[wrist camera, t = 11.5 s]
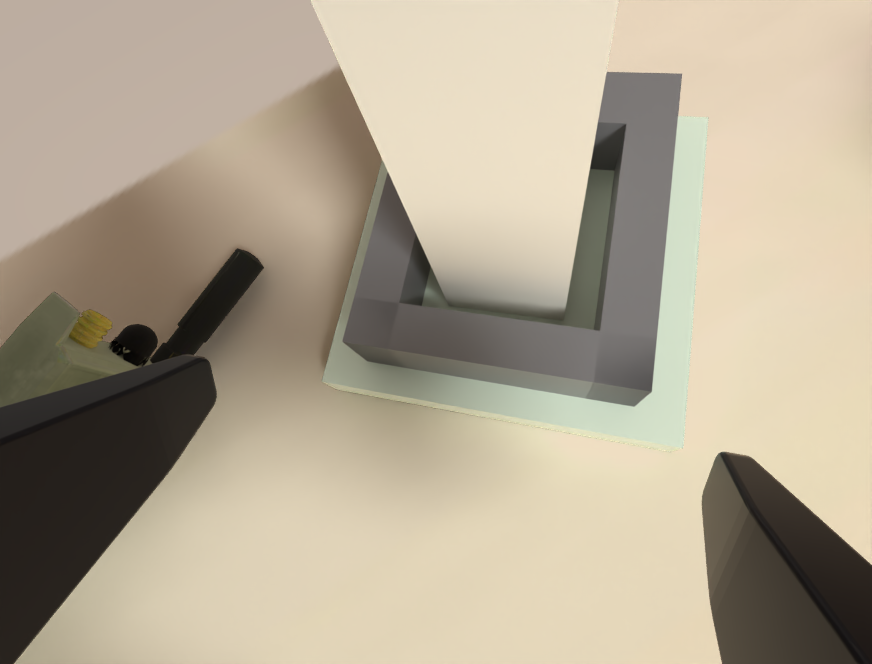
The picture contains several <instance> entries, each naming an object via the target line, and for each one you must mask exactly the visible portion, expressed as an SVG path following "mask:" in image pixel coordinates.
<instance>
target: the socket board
mask: <svg viewBox="0 0 872 664" xmlns="http://www.w3.org/2000/svg"><path fill="white" fill-rule="evenodd" d="M681 79H682V74H669V73H625V72H607V73H606V78H605V84H604V90H603V96H602V101H601V107H600V113H599V119H598V124H597V130H596V136H595V142H594V148H593V153H592V159H591V165H590V171H589V176H588V182H587V188H586V194H585V199H584V205H583V211H582V217H581V223H580V228H579V234H578V240H577V246H576V251H575V257H574V263H573V269H572V274H571V280H570V286H569V292H568V298H567V303H566V309H565V315H564V321H563V320H555V319H547V318H539V317H532V316H524V315H516V314H508V313H501V312H493V311H485V310H477V309H469V308H462V307H454V306H449V305H448V303H447V301H446V298H445V296H444V294H443V292H442V290H441V287H440V285H439V283H438V281H437V278H436V276H435V274H434V272H433V270H432V267H431V265H430V263H429V261H428V259H427V256H426V254H425V252H424V250H423V248H422V245H421V243H420V241H419V239H418V237H417V234H416V232H415V230H414V228H413V226H412V223H411V221H410V219H409V217H408V215H407V212H406V210H405V208H404V206H403V204H402V201H401V199H400V197H399V195H398V193H397V190H396V188H395V186H394V184H393V182H392V179H391V177H390V175H389V173H388V171H387V168H386V166H385V164H384V162H383V160H382V162H381V166H380V170H379V173H378V177H377V181H376V184H375V188H374V192H373V195H372V199H371V203H370V206H369V210H368V214H367V217H366V221H365V225H364V228H363V232H362V236H361V239H360V243H359V247H358V250H357V254H356V258H355V261H354V265H353V269H352V272H351V276H350V279H349V283H348V287H347V290H346V294H345V298H344V301H343V305H342V309H341V312H340V316H339V320H338V323H337V327H336V331H335V334H334V338H333V342H332V345H331V349H330V353H329V356H328V360H327V364H326V367H325V371H324V375H323V378H322V382H323V383H325V384H327V385H329V386H331V387H333V388H335V389H337V390H341V391H347V392H352V393H357V394H363V395H368V396H373V397H379V398H384V399H389V400H395V401H400V402H405V403H411V404H416V405H421V406H427V407H432V408H438V409H443V410H448V411H454V412H459V413H464V414H470V415H475V416H480V417H486V418H491V419H496V420H502V421H507V422H512V423H518V424H523V425H528V426H534V427H539V428H545V429H550V430H555V431H561V432H566V433H571V434H577V435H582V436H587V437H593V438H598V439H603V440H609V441H614V442H619V443H625V444H630V445H635V446H641V447H646V448H652V449H657V450H662V451H668V452H673V451H676V450H679V449H683V446H684V432H685V419H686V406H687V393H688V380H689V367H690V353H691V340H692V327H693V314H694V301H695V287H696V274H697V261H698V248H699V235H700V222H701V208H702V195H703V182H704V169H705V156H706V142H707V129H708V117H688V116H678V111H679V100H680V90H681Z"/></svg>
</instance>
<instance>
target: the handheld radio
mask: <svg viewBox="0 0 872 664" xmlns="http://www.w3.org/2000/svg"><path fill="white" fill-rule="evenodd" d="M263 268H264V267H263V266H262V264H261V263H260V261H259V260H258V259H257V258H256V257H255V256H254V255H252V254H251V253H249V252H247V251H244V250H241V249H236V250H235V252H234V253H233V254H232V255H231V257H230V258H229V259H228V261H227V262H226V263H225V264H224V266H223V267H222V268H221V269H220V271H219V272H218V273H217V275H216V276H215V277H214V278H213V280H212V281H211V282H210V284H209V285H208V286H207V287H206V289H205V290H204V291H203V292H202V294H201V295H200V296H199V298H198V299H197V300H196V301H195V303H194V304H193V305H192V307H191V308H190V309H189V310H188V312H187V313H186V314H185V315H184V317H183V318H182V319H181V321H180V322H179V323H178V326H179V327H178V329H177V330H176V331H175V333H174V334H173V335H172V336H171V338H170V339H169V340H168V342H167V343H163V344H162V345H161V346H160V347H159V349H158V350H157V351H156V353H155V354H154V355H153V356H152V357H150V355H151V354H152V353H153V351H154V350H155V349H156V347H157V343H158V339H157V336H156V334H155V333H154V332H153V330H151V329H150V328H149V327H147V326H144V325H139V324H135V325H130V326H128V327H126V328H125V329H124V330H123V331H122V332H121V333H120V334H119V336H118V337H115V339H114V340H115V341H114V340H113V341H112V342H111V343H108V342H105V341H102V339H103V337H102V336H103V335H106V334H107V333H108V332H107V330H110V329H111V328H112V326H111V325H112V322H111V321H110V320H109V319H107V318H106V317H104V316H103V315H101V314H99V313H97V312H95V311H93V310H87V311H83V313H82V315H83V316H82V317H79V315H80V313H79V311H78V310H76V309H75V308H74V307H73V306H72V305H71V304H70V303H68V302H67V301H66V300H65V299H64V298H62V297H61V296H60V295H58V294H57V293H56V292H53V293H52V294H51V295H50V296H48V297H47V298H46V299H45V300H44V301H43V302H42V303H41V304H40V305H39V306H38V307H37V308H36V309H35V310H34V311H33V312H32V313H31V314H30V315H29V316H28V317H27V318H26V319H25V320H24V321H23V322H22V323H21V324H20V325H19V327H18V328H17V329H16V330H15V331H14V333H13V334H12V335H11V336H10V337H9V339H8V340H7V341H6V342H5V343H4V344H3V346H2V347H1V348H0V407H3V406H6V405H10V404H13V403H17V402H20V401H24V400H27V399H31V398H34V397H38V396H41V395H45V394H48V393H52V392H55V391H59V390H62V389H66V388H69V387H73V386H76V385H80V384H83V383H87V382H90V381H94V380H97V379H101V378H104V377H108V376H111V375H115V374H118V373H122V372H125V371H129V370H132V369H136V368H139V367H143V366H146V365H150V364H153V363H157V362H160V361H164V360H167V359H171V358H174V357H178V356H181V355H187V354H188V355H194V354H195V353H196V351H197V350H198V349H199V348H200V346H201V345H202V344H203V342H206V341H207V340H208V339H209V338H210V336H211V335H212V334H213V333H214V331H215V330H216V329H217V327H218V326H219V325H220V324H221V322H222V321H223V320H224V318H225V317H226V316H227V315H228V313H229V312H230V311H231V309H232V308H233V307H234V306H235V304H236V303H237V302H238V300H239V299H240V298H241V297H242V295H243V294H244V293H245V291H246V290H247V289H248V288H249V286H250V285H251V284H252V282H253V281H254V280H255V279H256V277H257V276H258V275H259V273H260V272H261V271H262V270H263ZM77 321H78V322H77ZM76 322H77V323H76ZM116 344H117V345H116Z"/></svg>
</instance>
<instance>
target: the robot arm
mask: <svg viewBox="0 0 872 664" xmlns="http://www.w3.org/2000/svg"><path fill="white" fill-rule="evenodd" d="M216 398H217V392H216V387H215V383H214V379H213V374H212V370H211V366H210V363H209V361H208V360H207V359H206V358H204V357H200V356H194V355H188V354H187V355H181V356H178V357H174V358H171V359H167V360H164V361H160V362H157V363H153V364H150V365H146V366H143V367H139V368H136V369H132V370H129V371H125V372H122V373H118V374H115V375H111V376H108V377H104V378H101V379H97V380H94V381H90V382H87V383H83V384H80V385H76V386H73V387H69V388H66V389H62V390H59V391H55V392H52V393H48V394H45V395H41V396H38V397H34V398H31V399H27V400H24V401H20V402H17V403H13V404H10V405H6V406H3V407H0V664H14V663H15V662H16V660H17V659H18V658H19V657H20V655H21V654H22V653H23V652H24V650H25V649H26V648H27V647H28V646H29V644H30V643H31V642H32V641H33V639H34V638H35V637H36V636H37V634H38V633H39V632H40V631H41V630H42V628H43V627H44V626H45V625H46V623H47V622H48V621H49V620H50V618H51V617H52V616H53V615H54V613H55V612H56V611H57V610H58V609H59V607H60V606H61V605H62V604H63V602H64V601H65V600H66V599H67V597H68V596H69V595H70V594H71V593H72V591H73V590H74V589H75V588H76V586H77V585H78V584H79V583H80V581H81V580H82V579H83V578H84V577H85V575H86V574H87V573H88V572H89V570H90V569H91V568H92V567H93V565H94V564H95V563H96V562H97V560H98V559H99V558H100V557H101V556H102V554H103V553H104V552H105V551H106V549H107V548H108V547H109V546H110V544H111V543H112V542H113V541H114V540H115V538H116V537H117V536H118V535H119V533H120V532H121V531H122V530H123V528H124V527H125V526H126V525H127V523H128V522H129V521H130V520H131V519H132V517H133V516H134V515H135V514H136V512H137V511H138V510H139V509H140V507H141V506H142V505H143V504H144V503H145V501H146V500H147V499H148V498H149V496H150V495H151V494H152V493H153V491H154V490H155V489H156V488H157V486H158V485H159V484H160V483H161V482H162V480H163V479H164V478H165V476H166V475H167V474H168V473H169V471H170V470H171V469H172V467H173V466H174V464H175V463H176V462H177V460H178V459H179V457H180V456H181V454H182V453H183V451H184V450H185V448H186V447H187V445H188V444H189V442H190V441H191V439H192V438H193V436H194V435H195V433H196V432H197V430H198V429H199V427H200V426H201V424H202V423H203V421H204V420H205V418H206V417H207V415H208V414H209V412H210V411H211V409H212V408H213V406H214V404H215V402H216ZM702 515H703V527H704V540H705V552H706V564H707V576H708V588H709V597H710V605H711V610H712V616H713V621H714V626H715V631H716V636H717V641H718V646H719V651H720V656H721V660H722V664H872V565H871V564H870V563H869V562H868V561H867V560H866V559H864V558H863V557H862V556H861V555H860V554H859V553H858V552H857V551H855V550H854V549H853V548H852V547H851V546H850V545H849V544H848V543H847V542H845V541H844V540H843V539H842V538H841V537H840V536H839V535H838V534H837V533H835V532H834V531H833V530H832V529H831V528H830V527H829V526H828V525H826V524H825V523H824V522H823V521H822V520H821V519H820V518H819V517H818V516H816V515H815V514H814V513H813V512H812V511H811V510H810V509H809V508H808V507H806V506H805V505H804V504H803V503H802V502H801V501H800V500H799V499H797V498H796V497H795V496H794V495H793V494H792V493H791V492H790V491H789V490H787V489H786V488H785V487H784V486H783V485H782V484H781V483H780V482H779V481H777V480H776V479H775V478H774V477H773V476H772V475H771V474H770V473H768V472H767V471H766V470H765V469H764V468H763V467H762V466H761V465H760V464H758V463H757V462H756V461H755V460H754V459H753V458H751V457H749V456H746V455H740V454H735V453H729V452H721V453H719V454H718V455H717V457H716V458H715V461H714V463H713V466H712V469H711V471H710V474H709V477H708V480H707V482H706V485H705V488H704V491H703V495H702Z"/></svg>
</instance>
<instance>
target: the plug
mask: <svg viewBox="0 0 872 664" xmlns="http://www.w3.org/2000/svg"><path fill="white" fill-rule="evenodd" d="M310 1H311V3H312V6H313V7H314V10H315V12H316V14H317V17H318V19H319V21H320V23H321V25H322V27H323V30H324V32H325V34H326V36H327V39H328V41H329V43H330V45H331V47H332V50H333V52H334V54H335V56H336V58H337V61H338V63H339V65H340V67H341V69H342V72H343V74H344V76H345V78H346V80H347V83H348V85H349V87H350V89H351V91H352V94H353V96H354V98H355V100H356V102H357V105H358V107H359V109H360V111H361V113H362V116H363V118H364V120H365V122H366V124H367V127H368V129H369V131H370V133H371V135H372V138H373V140H374V142H375V144H376V146H377V149H378V151H379V153H380V155H381V157H382V160H383V162H384V164H385V166H386V168H387V171H388V173H389V175H390V177H391V179H392V182H393V184H394V186H395V188H396V190H397V193H398V195H399V197H400V199H401V201H402V204H403V206H404V208H405V210H406V212H407V215H408V217H409V219H410V221H411V223H412V226H413V228H414V230H415V232H416V234H417V237H418V239H419V241H420V243H421V245H422V248H423V250H424V252H425V254H426V256H427V259H428V261H429V263H430V265H431V267H432V270H433V272H434V274H435V276H436V278H437V281H438V283H439V285H440V287H441V290H442V292H443V294H444V296H445V298H446V301H447V303H448V305H449V306H454V307H462V308H469V309H477V310H485V311H493V312H501V313H508V314H516V315H524V316H532V317H539V318H547V319H555V320H563V321H564V315H565V309H566V303H567V298H568V292H569V286H570V280H571V274H572V269H573V263H574V257H575V251H576V246H577V240H578V234H579V228H580V223H581V217H582V211H583V205H584V199H585V194H586V188H587V182H588V176H589V171H590V165H591V159H592V153H593V148H594V142H595V136H596V130H597V124H598V119H599V113H600V107H601V101H602V96H603V90H604V84H605V78H606V73H607V67H608V61H609V55H610V49H611V44H612V38H613V32H614V26H615V21H616V15H617V9H618V3H619V0H310Z"/></svg>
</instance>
